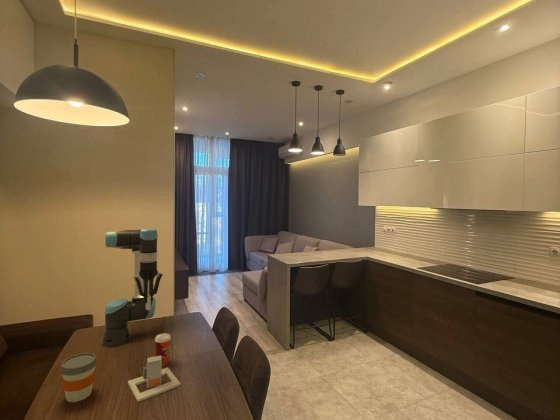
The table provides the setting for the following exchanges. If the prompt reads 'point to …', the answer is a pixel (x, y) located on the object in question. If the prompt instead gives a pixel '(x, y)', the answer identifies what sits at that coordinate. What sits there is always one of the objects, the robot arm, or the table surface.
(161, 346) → the paper cup
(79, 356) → the reusable coffee cup
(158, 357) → the skincare box
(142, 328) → the table surface
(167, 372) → the socket board
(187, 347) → the table surface
